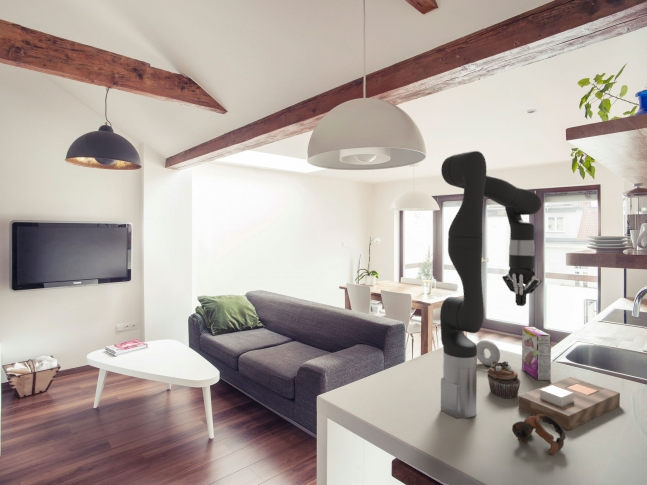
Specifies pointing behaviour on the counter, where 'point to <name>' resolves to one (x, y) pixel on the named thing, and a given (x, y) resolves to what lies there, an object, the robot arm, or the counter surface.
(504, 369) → the cupcake
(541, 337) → the candy bar box
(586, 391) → the terracotta key
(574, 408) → the key panel
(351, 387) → the counter surface
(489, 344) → the donut
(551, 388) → the white rectangular block
